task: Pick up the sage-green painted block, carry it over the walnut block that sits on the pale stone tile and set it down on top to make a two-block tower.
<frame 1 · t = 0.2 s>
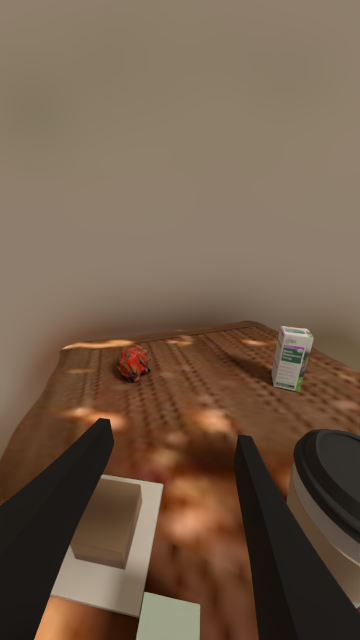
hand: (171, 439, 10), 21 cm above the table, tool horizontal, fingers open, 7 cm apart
syrup box: (283, 383, 47), on the table
stone tile: (112, 529, 22), on the table
coffee cup: (316, 557, 20), on the table
walnut block: (112, 527, 21), resting on stone tile
dragon fruit: (135, 375, 50), on the table
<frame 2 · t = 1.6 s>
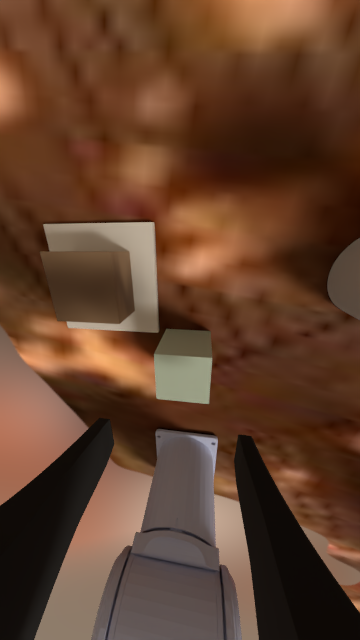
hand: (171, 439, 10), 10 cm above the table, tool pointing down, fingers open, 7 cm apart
stone tile: (107, 281, 18), on the table
sage block: (187, 349, 19), on the table
walnut block: (104, 282, 17), resting on stone tile
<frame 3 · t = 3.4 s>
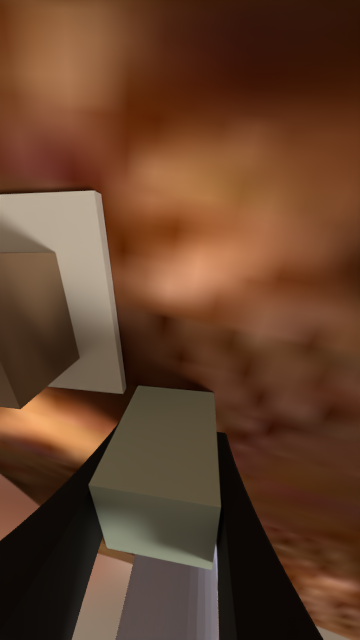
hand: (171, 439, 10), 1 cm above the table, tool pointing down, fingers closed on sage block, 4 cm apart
stone tile: (29, 306, 10), on the table
sage block: (175, 417, 11), on the table, touching gripper
walnut block: (20, 308, 9), resting on stone tile
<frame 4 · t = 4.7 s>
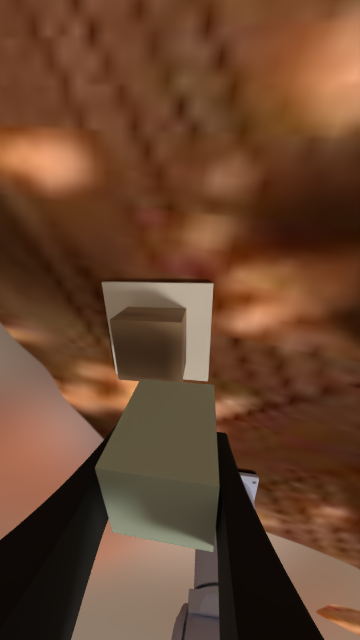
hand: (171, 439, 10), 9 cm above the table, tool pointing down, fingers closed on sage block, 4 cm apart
stone tile: (159, 332, 18), on the table
sage block: (177, 410, 12), point 7 cm above the table, touching gripper
walnut block: (158, 334, 18), resting on stone tile
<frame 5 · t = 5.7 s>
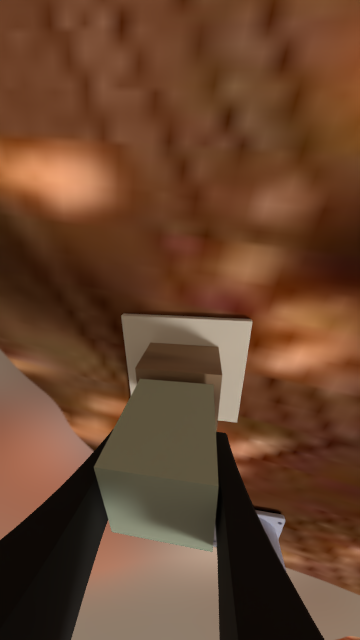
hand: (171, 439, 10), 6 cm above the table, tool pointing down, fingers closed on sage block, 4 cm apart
stone tile: (184, 369, 16), on the table
sage block: (176, 409, 12), point 5 cm above the table, touching gripper
walnut block: (183, 372, 16), resting on stone tile
when the fingers open (6 cm above the table, at t = 6.2 s): sage block stays where it is, resting on walnut block.
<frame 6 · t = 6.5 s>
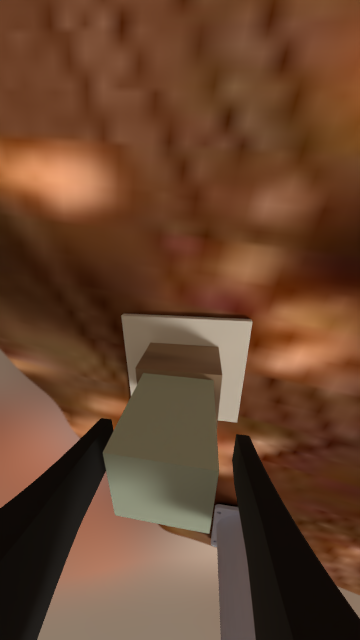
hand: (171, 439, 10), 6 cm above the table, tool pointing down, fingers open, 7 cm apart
stone tile: (184, 369, 16), on the table
sage block: (177, 403, 12), point 4 cm above the table, touching walnut block
walnut block: (183, 372, 16), resting on stone tile, touching sage block
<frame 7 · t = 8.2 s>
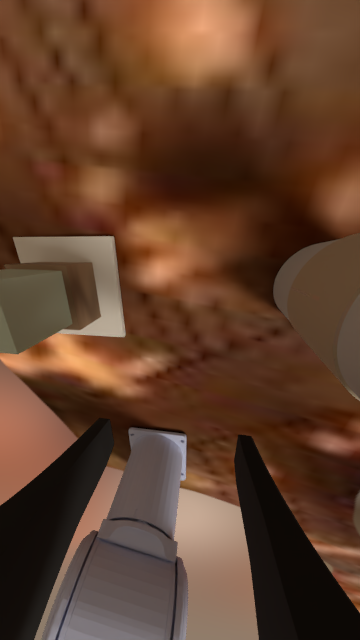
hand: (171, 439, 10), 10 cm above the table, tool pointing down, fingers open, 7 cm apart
stone tile: (75, 289, 19), on the table
sage block: (42, 297, 15), point 4 cm above the table, touching walnut block
coffee cup: (313, 284, 16), on the table
walnut block: (71, 290, 19), resting on stone tile, touching sage block
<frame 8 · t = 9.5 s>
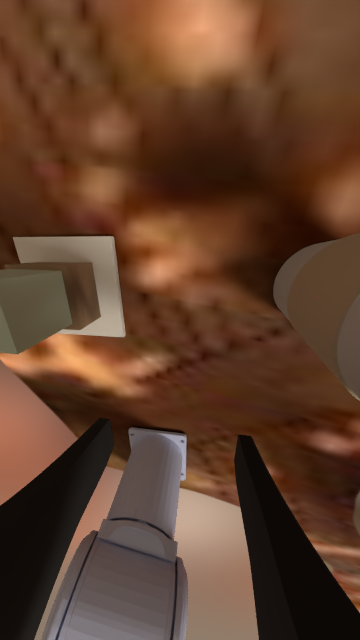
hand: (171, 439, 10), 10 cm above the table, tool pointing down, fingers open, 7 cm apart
stone tile: (74, 289, 19), on the table
sage block: (42, 297, 15), point 4 cm above the table, touching walnut block
coffee cup: (313, 284, 16), on the table
walnut block: (71, 290, 19), resting on stone tile, touching sage block
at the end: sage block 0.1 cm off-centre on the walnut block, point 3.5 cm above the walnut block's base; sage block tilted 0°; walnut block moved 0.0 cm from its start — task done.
